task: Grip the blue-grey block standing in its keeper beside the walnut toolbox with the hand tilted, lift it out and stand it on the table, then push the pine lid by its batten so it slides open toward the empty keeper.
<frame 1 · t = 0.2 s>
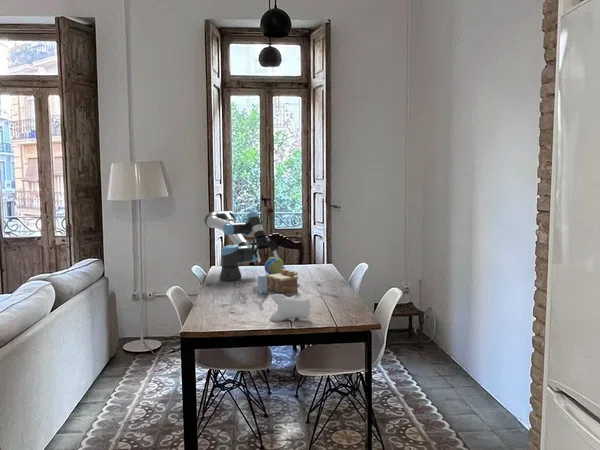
hand: (268, 260, 352), 15 cm above the table, tool tilted 35°, fingers open, 13 cm apart
keeper: (262, 293, 325), on the table
fox head: (289, 318, 268), on the table
blue-grey block: (262, 293, 325), on the table
lid: (281, 274, 332), point 10 cm above the table, slide at 0.0 cm
toolbox: (282, 290, 332), on the table
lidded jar: (289, 284, 352), on the table
globe: (276, 275, 385), on the table
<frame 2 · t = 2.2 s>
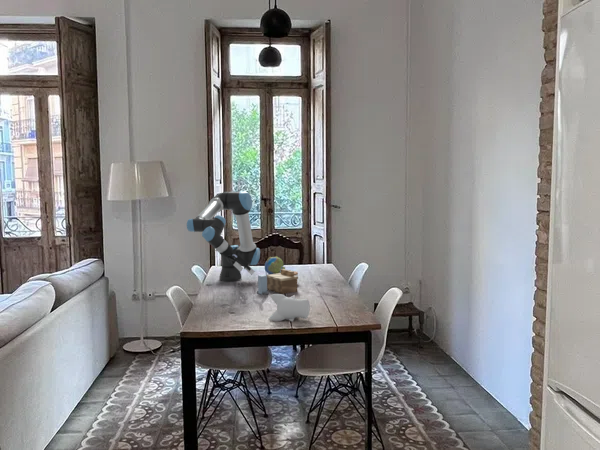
hand: (247, 271, 317), 15 cm above the table, tool tilted 45°, fingers open, 13 cm apart
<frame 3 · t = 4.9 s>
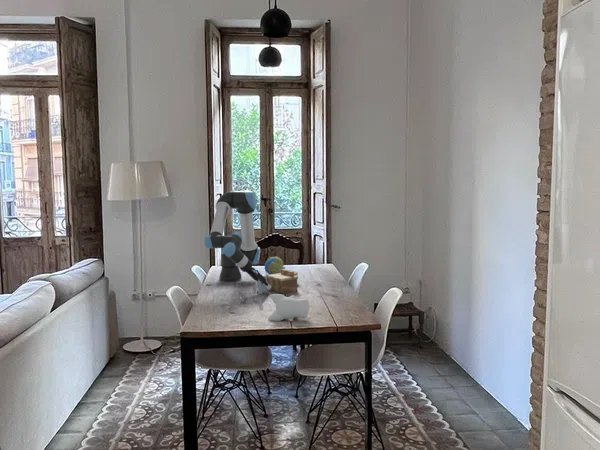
hand: (268, 287, 326), 3 cm above the table, tool tilted 45°, fingers closed on blue-grey block, 4 cm apart
blue-grey block: (262, 293, 325), on the table, touching gripper
when the fingers open (4 cm above the table, at t = 9.6 s): blue-grey block stays where it is, on the table.
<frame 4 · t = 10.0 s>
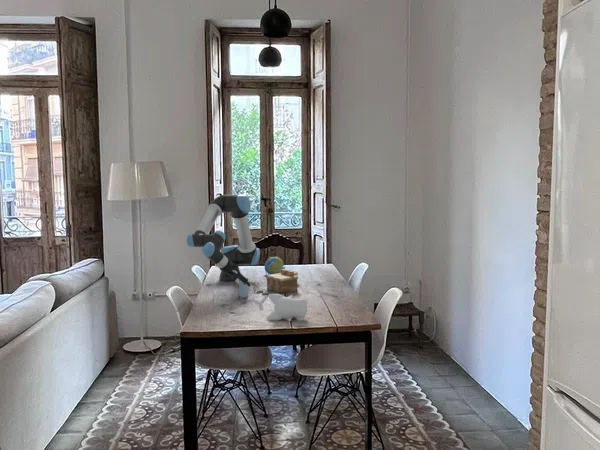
hand: (247, 287, 318), 5 cm above the table, tool tilted 45°, fingers open, 10 cm apart
blue-grey block: (243, 296, 317), on the table
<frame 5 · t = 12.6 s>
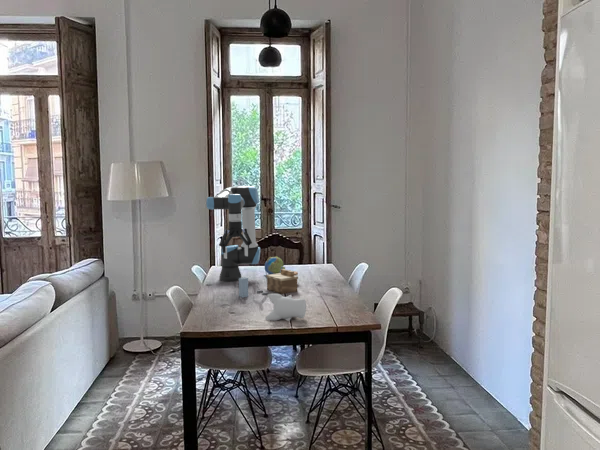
hand: (236, 257, 312), 24 cm above the table, tool pointing down, fingers open, 13 cm apart
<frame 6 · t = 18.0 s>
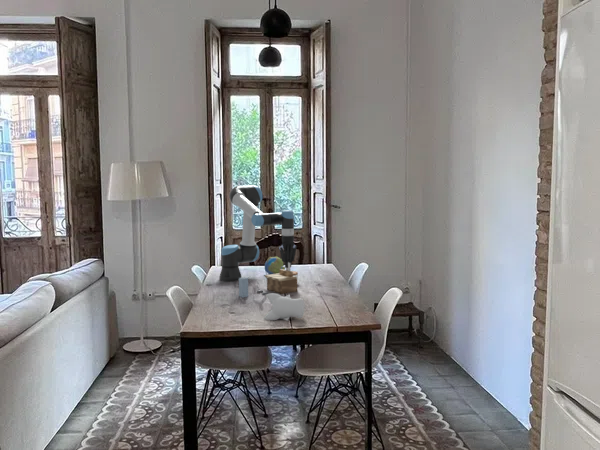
hand: (288, 272, 334), 11 cm above the table, tool pointing down, fingers closed
lid: (280, 274, 331), point 10 cm above the table, slide at 1.1 cm, touching gripper
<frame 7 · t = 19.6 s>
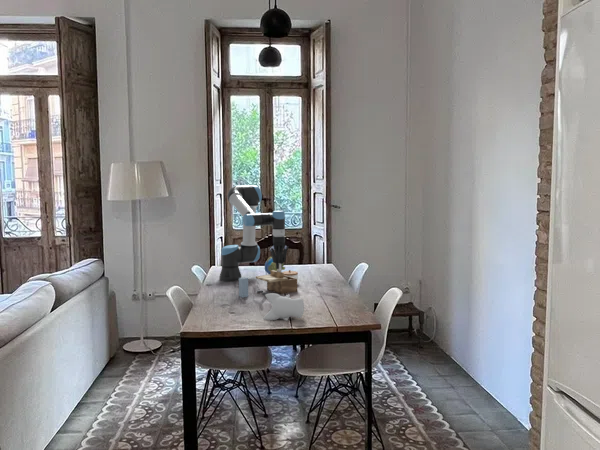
hand: (279, 273, 330), 11 cm above the table, tool pointing down, fingers closed
lid: (271, 275, 327), point 10 cm above the table, slide at 7.7 cm, touching gripper
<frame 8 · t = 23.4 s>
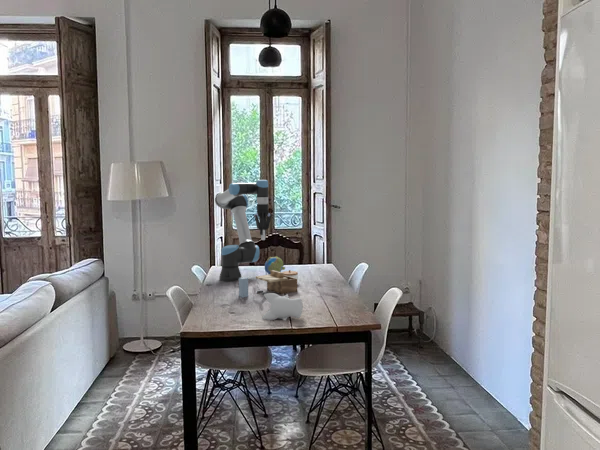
hand: (263, 239, 350), 29 cm above the table, tool pointing down, fingers closed
lid: (271, 275, 327), point 10 cm above the table, slide at 7.7 cm
at the end: lid slide at 7.7 cm; blue-grey block inside the target area (1.0 cm from its centre), on the table; the gripper is holding nothing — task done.
